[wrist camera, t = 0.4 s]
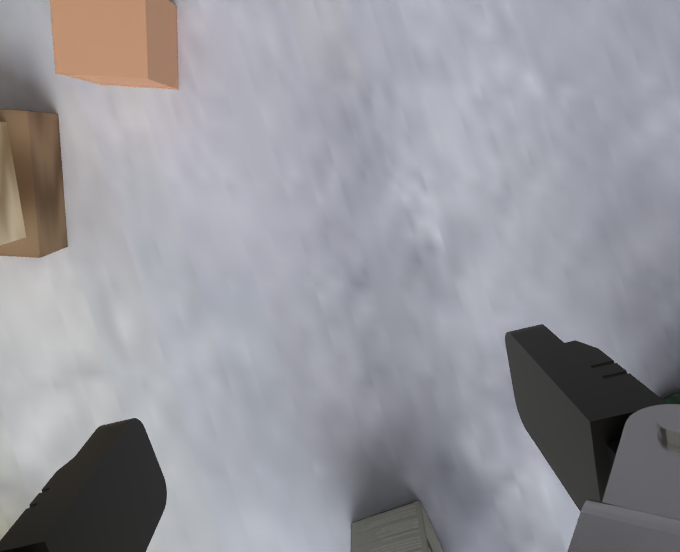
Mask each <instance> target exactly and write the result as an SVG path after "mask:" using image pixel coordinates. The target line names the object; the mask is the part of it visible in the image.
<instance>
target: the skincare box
mask: <svg viewBox="0 0 680 552" xmlns="http://www.w3.org/2000/svg"><path fill="white" fill-rule="evenodd" d="M351 552H443V550H442V547H441V545H440V542H439V540H438V537H437V535H436V533H435V530H434V528H433V526H432V524H431V522H430V520H429V517H428V515H427V513H426V511H425V509H424V507H423V505H422V503H420V502H419V501H416V502H413V503H411V504H407V505H405V506H402V507H399V508H396V509H393V510H390V511H387V512H384V513H381V514H377V515H374V516H371V517H368V518H365V519H362V520H360V521H357V522H354V523H352V524H351Z"/></svg>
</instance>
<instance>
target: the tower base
mask: <svg viewBox="0 0 680 552" xmlns="http://www.w3.org/2000/svg"><path fill="white" fill-rule="evenodd" d="M0 122H7V128H8V134H9V139H10V145H11V151H12V157H13V163H14V168H15V174H16V180H17V186H18V191H19V197H20V203H21V209H22V215H23V220H24V226H25V232H26V238H22V239H19V240H16V241H13V242H10V243H7V244H3V245H0V256H18V257H36V258H41V257H43V256H46V255H48V254H50V253H53V252H55V251H58V250H60V249H63V248H65V247H68V244H67V230H66V216H65V202H64V189H63V175H62V161H61V147H60V133H59V119H58V114H52V113H43V112H33V111H20V110H5V109H0Z"/></svg>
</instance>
